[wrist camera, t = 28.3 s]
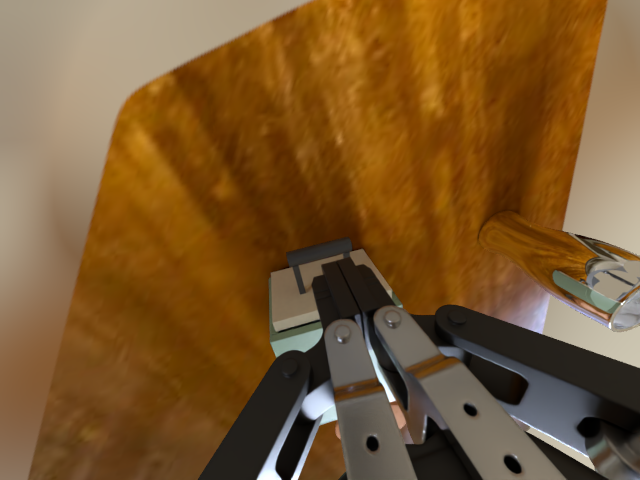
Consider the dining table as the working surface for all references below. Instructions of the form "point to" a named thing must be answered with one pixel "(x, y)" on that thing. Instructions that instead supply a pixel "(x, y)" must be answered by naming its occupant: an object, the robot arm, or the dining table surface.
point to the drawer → (309, 282)
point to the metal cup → (571, 268)
